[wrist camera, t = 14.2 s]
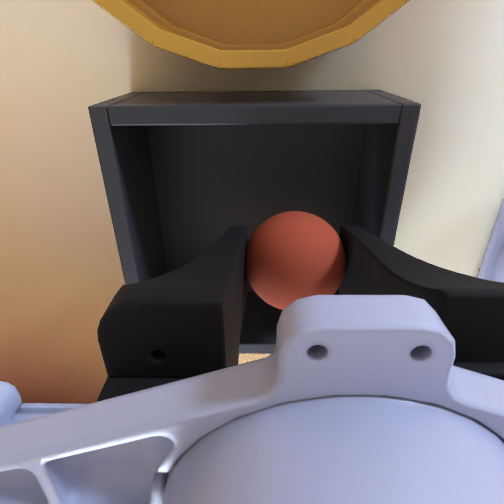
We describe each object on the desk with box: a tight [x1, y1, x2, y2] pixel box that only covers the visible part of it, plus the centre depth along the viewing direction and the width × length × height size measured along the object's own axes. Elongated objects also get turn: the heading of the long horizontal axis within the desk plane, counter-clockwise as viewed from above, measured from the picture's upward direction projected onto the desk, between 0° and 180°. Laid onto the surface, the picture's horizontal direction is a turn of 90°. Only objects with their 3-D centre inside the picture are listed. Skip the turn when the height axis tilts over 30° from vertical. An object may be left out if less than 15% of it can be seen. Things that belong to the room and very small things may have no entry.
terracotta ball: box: [246, 211, 346, 310], centre depth 13 cm, size 4×4×4 cm
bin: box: [88, 90, 421, 354], centre depth 16 cm, size 10×10×4 cm
